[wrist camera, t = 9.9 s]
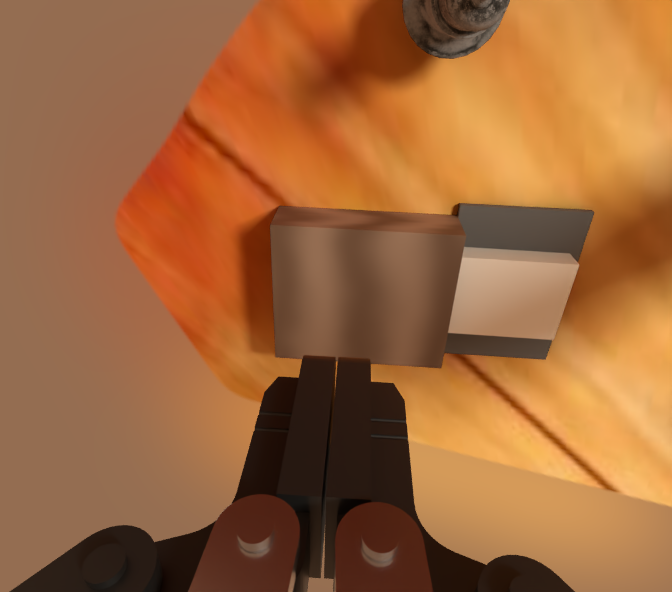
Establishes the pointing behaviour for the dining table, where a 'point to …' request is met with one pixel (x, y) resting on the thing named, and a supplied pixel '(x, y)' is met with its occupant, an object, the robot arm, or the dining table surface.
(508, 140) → the dining table surface
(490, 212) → the mat
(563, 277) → the tile
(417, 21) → the salt shaker
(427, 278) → the block
